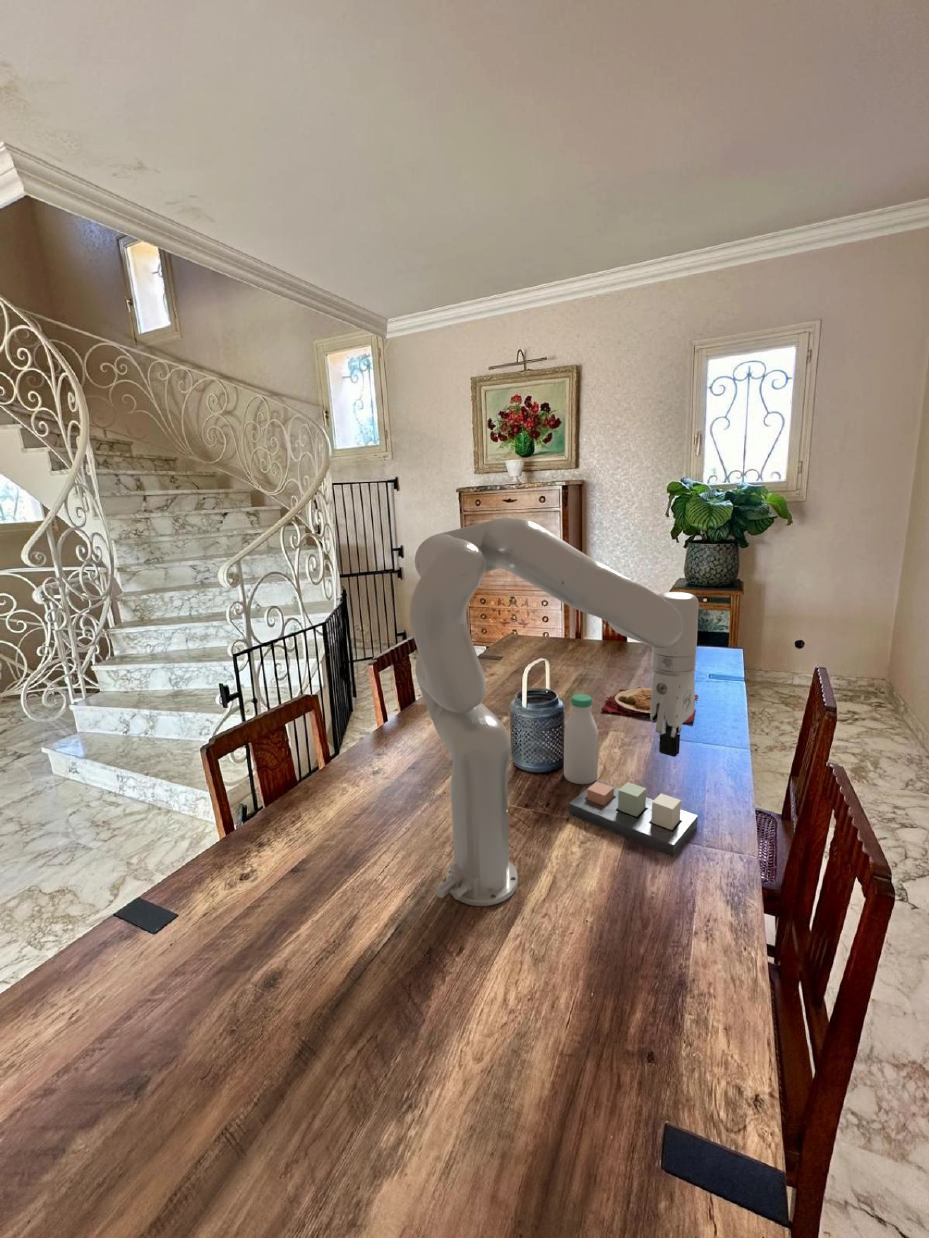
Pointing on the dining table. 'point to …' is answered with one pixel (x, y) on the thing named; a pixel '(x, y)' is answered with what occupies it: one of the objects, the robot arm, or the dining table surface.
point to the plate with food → (633, 702)
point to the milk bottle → (581, 742)
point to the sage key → (632, 799)
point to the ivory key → (666, 811)
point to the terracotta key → (600, 793)
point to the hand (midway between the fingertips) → (669, 753)
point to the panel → (634, 823)
